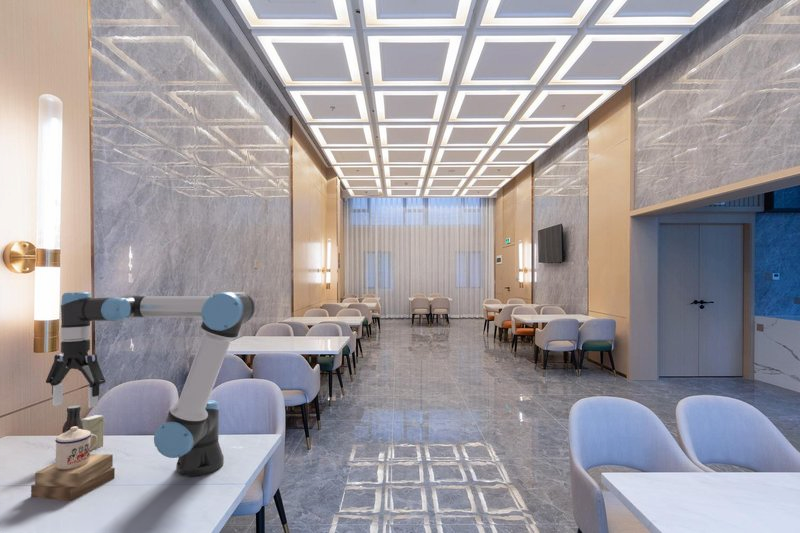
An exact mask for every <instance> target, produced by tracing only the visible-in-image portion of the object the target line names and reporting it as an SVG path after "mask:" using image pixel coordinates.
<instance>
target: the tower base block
mask: <svg viewBox="0 0 800 533" xmlns="http://www.w3.org/2000/svg"><path fill="white" fill-rule="evenodd" d="M115 469H116V468H115V467H111V468H109V469H107V470H106V471H104V472H102V473H101V474H99V475H97V476H96V477H94V478H93V479H91V480H89V481H88V482H86V483H84V484H83V485H81V486H79V487H57V486H35V483H33V484H31V485H30V487H31V488H30V497H31V498H38V499H39V498H40V499H45V500H46V499H47V500H55V501H65V502H73V501H75V500H76V499H78V498H79V499H80V497H82V496H84V495H87V494H88V493H90V492H92V491H94V490H95V489H98V488H99V487H101V486H103V485H105V484H106V483H107V484H108V483H109V482H110V481H113V480H114V479H115V478H116V477H115V474H116V473H115Z"/></svg>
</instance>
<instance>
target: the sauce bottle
mask: <svg viewBox="0 0 800 533" xmlns="http://www.w3.org/2000/svg"><path fill="white" fill-rule="evenodd" d="M81 408H82V406H81V405H70V406H68V407H67V408H66V412H67V413H66V421H65V422H64V424H63V426H62V430H61V431H62V432H61V434H63V433H65V432H67V431H69V430H70V428H71V427H74V426H77V427H78V429H82V430H83V423H82V421H81V419H82V418H81V411H82V410H81Z"/></svg>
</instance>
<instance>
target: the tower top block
mask: <svg viewBox="0 0 800 533" xmlns="http://www.w3.org/2000/svg"><path fill="white" fill-rule="evenodd" d="M113 459H114V458H113V454H111V453H110V454H107V453H104V454H103V453H102V454H101V453H99V454H98V453H90V459H89V461H88V462H87V463H86V464H84V465H82V466H80V467H77V468H73V469H58V468H56V466H55V464H56V462H54V463H52V464H50V465H48V466H47V467H44V468H42V469H40V470H38V471H36V472H35V473H34V484H35V486H57V487H79V486H81V485H83V484H84V483H86V482H88V481H89V480H91V479H93V478H94V477H96V476H97V475H99V474H101V473H102V472H104V471H106V470H107V469H109V468H113V466H114V463H113Z"/></svg>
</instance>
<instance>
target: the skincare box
mask: <svg viewBox="0 0 800 533" xmlns="http://www.w3.org/2000/svg"><path fill="white" fill-rule="evenodd" d="M104 418H105V416H104V415H103V414H94V415H91V416H87V417H84V418H80V419H81V421H82V423H83V430H88V431H90V432H91V434H94V435H96V436H97V442H96V444H95V446H94V447H93V448H92V449H91V450H90V451H93V450H96V449H99V448H101V447H104ZM92 442H93V437H90V446H91V444H92Z"/></svg>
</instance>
